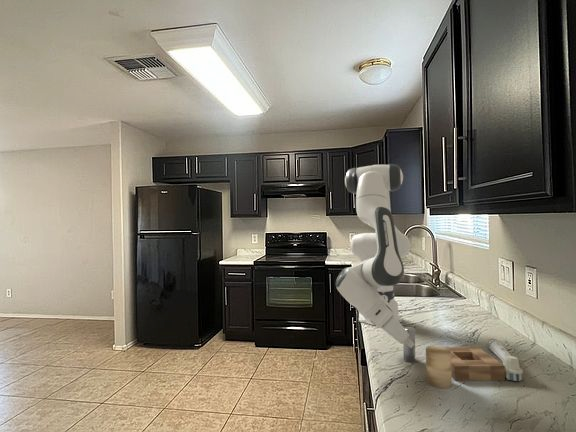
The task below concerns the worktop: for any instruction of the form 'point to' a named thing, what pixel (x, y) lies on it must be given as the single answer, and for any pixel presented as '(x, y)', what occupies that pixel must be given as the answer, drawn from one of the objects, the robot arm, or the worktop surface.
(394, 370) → the worktop surface
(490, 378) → the socket block
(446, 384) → the fat post
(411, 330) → the cylinder
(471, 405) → the worktop surface
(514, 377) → the toothbrush head
